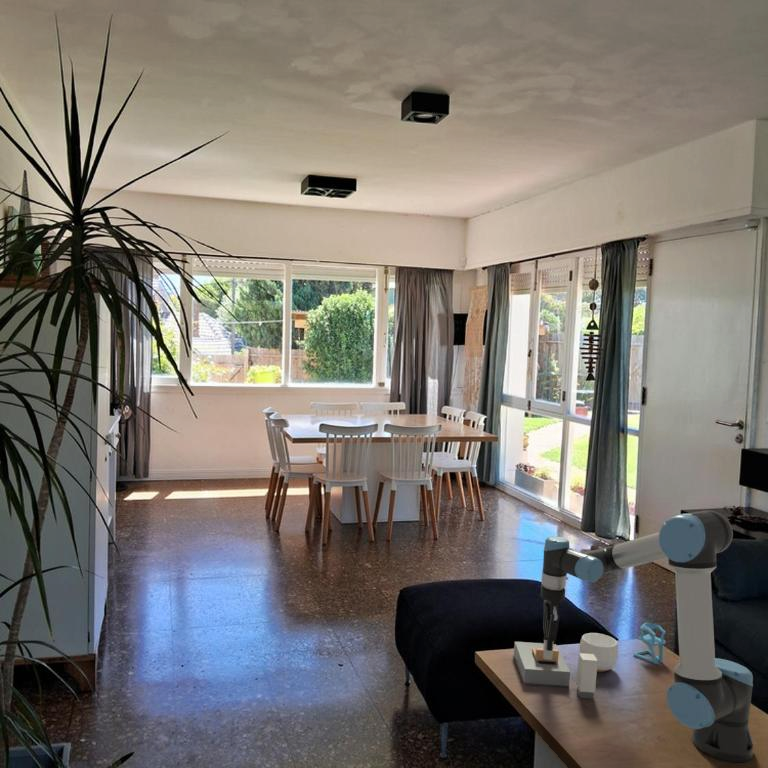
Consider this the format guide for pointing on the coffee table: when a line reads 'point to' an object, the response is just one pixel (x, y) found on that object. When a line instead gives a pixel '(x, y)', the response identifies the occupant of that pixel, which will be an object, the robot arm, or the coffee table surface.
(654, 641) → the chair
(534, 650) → the block
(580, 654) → the white rectangular block
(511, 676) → the coffee table surface
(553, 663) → the socket plate
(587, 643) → the cup
